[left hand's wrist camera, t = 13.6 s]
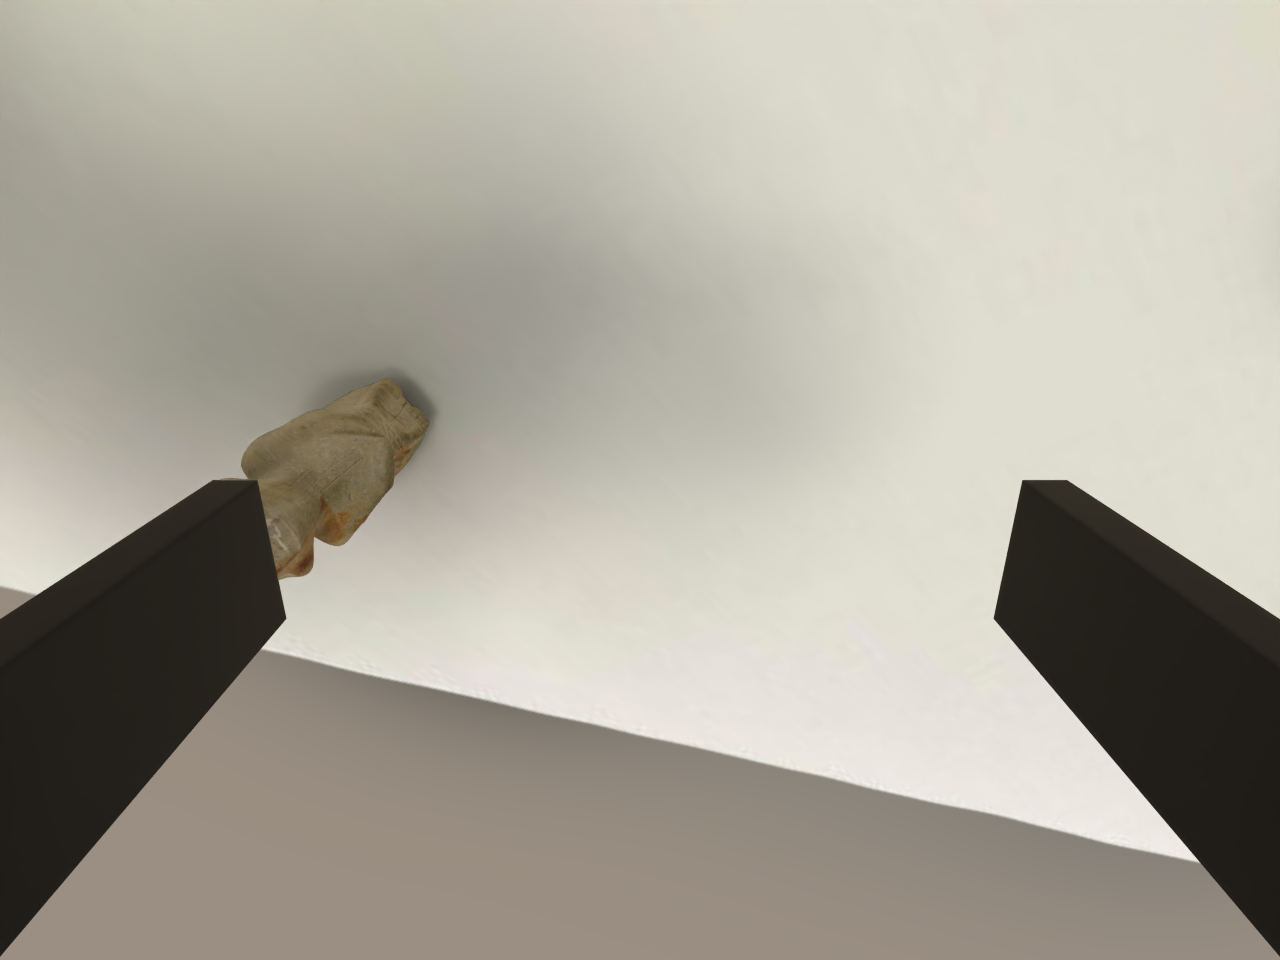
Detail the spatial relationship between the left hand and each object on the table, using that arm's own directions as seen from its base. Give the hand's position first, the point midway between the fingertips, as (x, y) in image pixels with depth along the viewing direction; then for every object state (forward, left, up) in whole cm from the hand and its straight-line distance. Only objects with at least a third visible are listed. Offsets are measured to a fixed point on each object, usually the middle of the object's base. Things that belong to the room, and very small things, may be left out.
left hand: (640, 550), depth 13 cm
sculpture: (-13, -10, -27) cm, 32 cm away
